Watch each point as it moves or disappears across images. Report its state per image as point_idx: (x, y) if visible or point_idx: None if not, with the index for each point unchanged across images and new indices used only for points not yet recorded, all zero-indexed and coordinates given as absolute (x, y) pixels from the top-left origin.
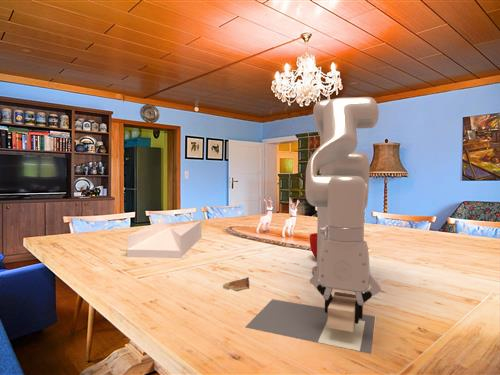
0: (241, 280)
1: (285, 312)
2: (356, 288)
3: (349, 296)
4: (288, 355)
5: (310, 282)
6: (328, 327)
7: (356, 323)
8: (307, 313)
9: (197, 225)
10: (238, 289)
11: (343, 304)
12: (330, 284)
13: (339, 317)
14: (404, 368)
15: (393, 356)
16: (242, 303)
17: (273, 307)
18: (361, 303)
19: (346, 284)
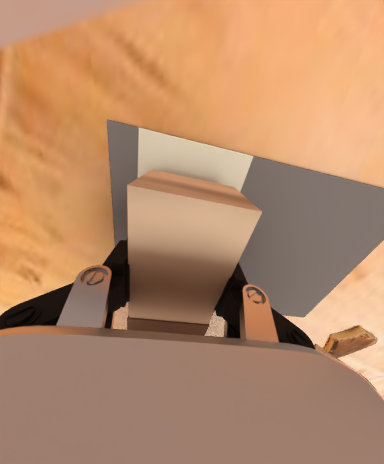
0: (339, 355)
1: (294, 280)
2: (28, 366)
3: (155, 323)
4: (356, 63)
5: (360, 374)
6: (230, 186)
7: None
8: (248, 284)
9: None
10: (358, 333)
11: (179, 264)
12: (298, 383)
13: (199, 188)
14: (6, 64)
15: (55, 141)
16: (362, 298)
17: (312, 292)
18: (93, 272)
19: (134, 417)
